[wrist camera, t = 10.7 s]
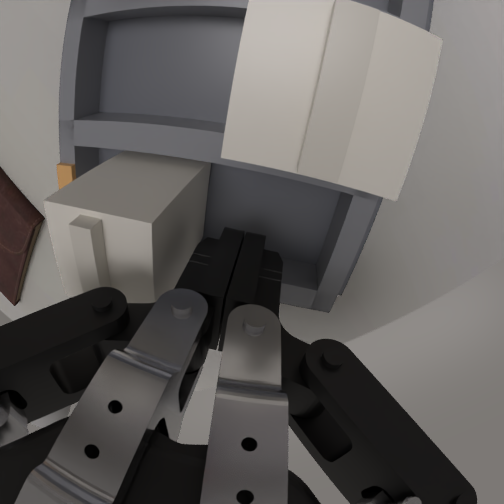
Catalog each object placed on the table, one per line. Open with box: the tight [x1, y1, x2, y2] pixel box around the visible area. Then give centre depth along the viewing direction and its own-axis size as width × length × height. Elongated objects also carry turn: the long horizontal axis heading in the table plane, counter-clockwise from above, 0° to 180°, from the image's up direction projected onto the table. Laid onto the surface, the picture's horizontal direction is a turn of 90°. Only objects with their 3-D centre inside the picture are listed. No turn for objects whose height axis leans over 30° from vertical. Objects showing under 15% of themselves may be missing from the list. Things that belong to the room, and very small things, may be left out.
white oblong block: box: [44, 150, 211, 303], centre depth 11 cm, size 4×4×7 cm
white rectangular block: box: [221, 0, 443, 202], centre depth 7 cm, size 4×4×7 cm
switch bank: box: [57, 0, 434, 313], centre depth 10 cm, size 16×20×4 cm
